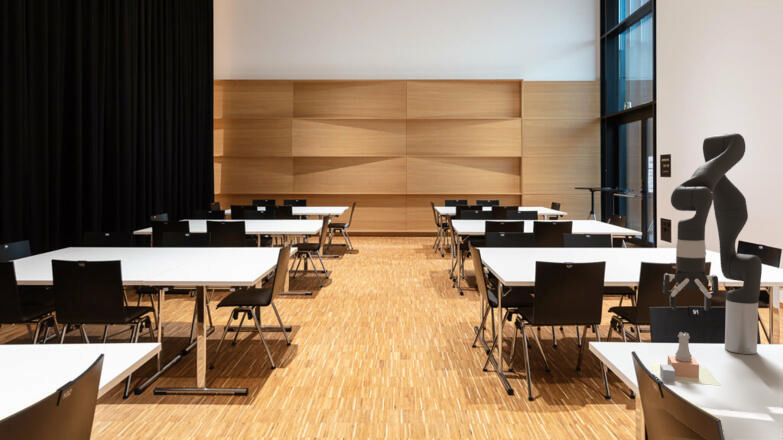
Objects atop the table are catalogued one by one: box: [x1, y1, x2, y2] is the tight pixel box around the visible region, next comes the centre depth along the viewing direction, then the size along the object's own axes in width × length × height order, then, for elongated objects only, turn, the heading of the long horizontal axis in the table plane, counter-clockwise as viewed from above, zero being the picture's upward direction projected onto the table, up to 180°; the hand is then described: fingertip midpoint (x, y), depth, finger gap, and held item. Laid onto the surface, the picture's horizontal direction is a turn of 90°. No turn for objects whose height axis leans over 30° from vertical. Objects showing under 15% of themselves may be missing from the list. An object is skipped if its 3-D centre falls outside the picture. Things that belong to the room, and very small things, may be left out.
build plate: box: [648, 362, 722, 387], centre depth 158 cm, size 16×16×1 cm
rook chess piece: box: [674, 331, 693, 362], centre depth 157 cm, size 4×4×8 cm
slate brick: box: [660, 364, 675, 382], centre depth 154 cm, size 5×3×3 cm, turn 162°
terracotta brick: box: [667, 354, 700, 378], centre depth 158 cm, size 7×7×4 cm
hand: (689, 309), depth 157 cm, fingers open, 8 cm apart
